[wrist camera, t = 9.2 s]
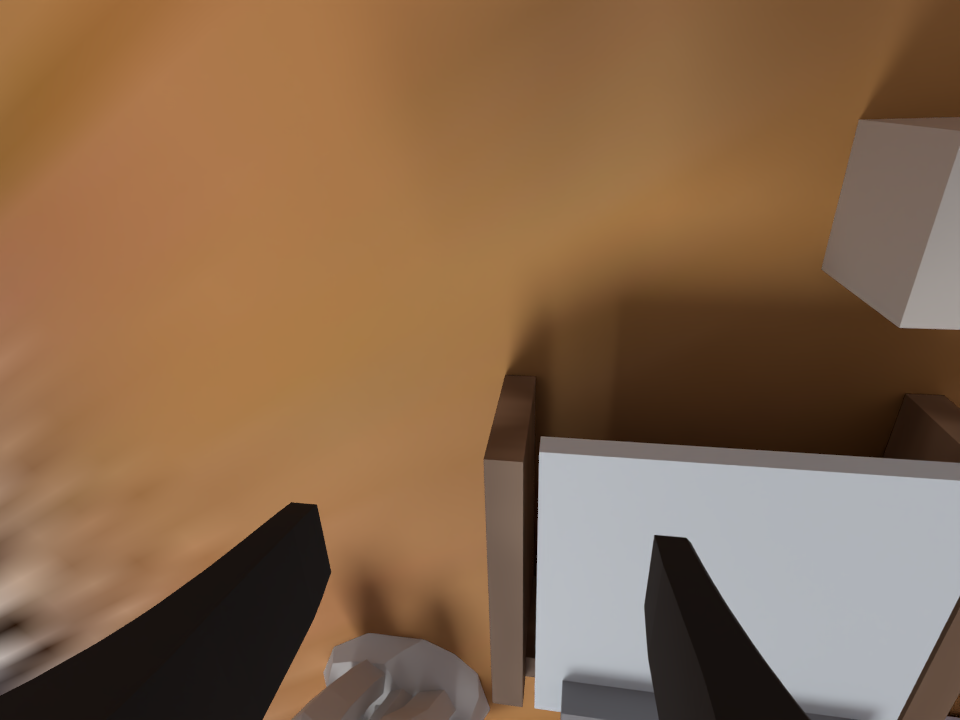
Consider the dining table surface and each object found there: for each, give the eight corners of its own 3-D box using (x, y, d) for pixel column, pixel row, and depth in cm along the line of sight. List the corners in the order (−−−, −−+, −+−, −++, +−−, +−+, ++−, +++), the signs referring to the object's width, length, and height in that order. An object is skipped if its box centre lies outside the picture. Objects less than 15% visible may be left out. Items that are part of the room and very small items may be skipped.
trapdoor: (994, 465, 14) (1052, 517, 13) (867, 733, 20) (895, 796, 18) (540, 436, 16) (536, 478, 15) (536, 687, 22) (532, 741, 20)
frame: (944, 395, 19) (1069, 501, 14) (851, 628, 24) (919, 763, 19) (505, 375, 21) (483, 459, 17) (508, 591, 27) (492, 702, 22)
